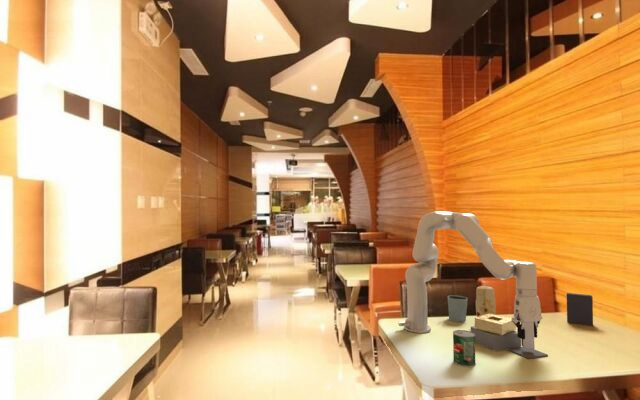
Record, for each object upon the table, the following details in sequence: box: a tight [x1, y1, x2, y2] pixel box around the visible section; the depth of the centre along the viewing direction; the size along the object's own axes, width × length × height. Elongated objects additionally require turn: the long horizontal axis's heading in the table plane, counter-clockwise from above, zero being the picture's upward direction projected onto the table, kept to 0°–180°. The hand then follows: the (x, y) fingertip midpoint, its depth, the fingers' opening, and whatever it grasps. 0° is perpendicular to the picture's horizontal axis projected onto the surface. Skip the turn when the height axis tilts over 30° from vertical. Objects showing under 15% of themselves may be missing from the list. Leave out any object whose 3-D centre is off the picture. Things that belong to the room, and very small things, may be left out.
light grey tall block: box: [520, 321, 536, 350], centre depth 152 cm, size 4×4×11 cm
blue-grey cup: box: [447, 294, 469, 323], centre depth 200 cm, size 10×10×12 cm
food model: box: [475, 285, 497, 317], centre depth 188 cm, size 10×7×20 cm
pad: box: [507, 346, 549, 360], centre depth 151 cm, size 10×10×1 cm
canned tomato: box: [452, 329, 477, 368], centre depth 142 cm, size 8×8×11 cm
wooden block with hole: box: [474, 314, 517, 335], centre depth 163 cm, size 14×12×4 cm
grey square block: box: [470, 325, 522, 352], centre depth 163 cm, size 14×14×6 cm
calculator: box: [566, 292, 594, 327], centre depth 194 cm, size 11×4×15 cm, turn 58°
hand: (527, 337), depth 152 cm, fingers closed on light grey tall block, 5 cm apart
